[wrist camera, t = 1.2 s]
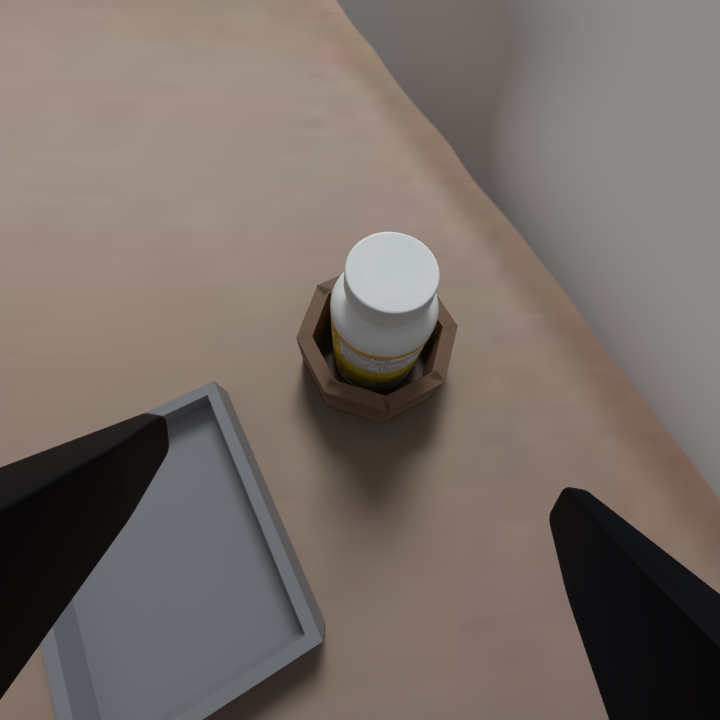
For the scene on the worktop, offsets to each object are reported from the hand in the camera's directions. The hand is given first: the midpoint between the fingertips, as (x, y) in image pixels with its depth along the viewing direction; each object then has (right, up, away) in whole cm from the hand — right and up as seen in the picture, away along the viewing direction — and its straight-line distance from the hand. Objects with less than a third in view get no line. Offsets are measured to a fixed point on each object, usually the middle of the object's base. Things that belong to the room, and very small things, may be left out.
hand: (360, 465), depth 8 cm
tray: (-10, -8, +11) cm, 17 cm away
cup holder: (+1, +3, +16) cm, 16 cm away
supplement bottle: (+1, +3, +16) cm, 16 cm away
